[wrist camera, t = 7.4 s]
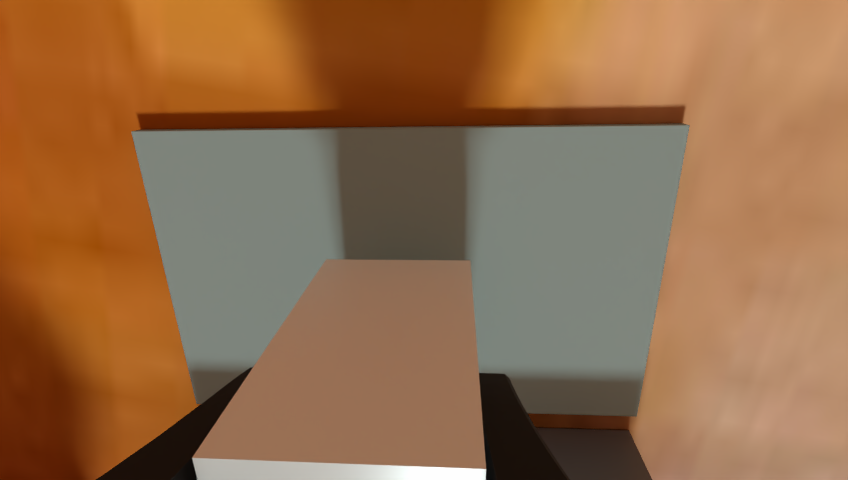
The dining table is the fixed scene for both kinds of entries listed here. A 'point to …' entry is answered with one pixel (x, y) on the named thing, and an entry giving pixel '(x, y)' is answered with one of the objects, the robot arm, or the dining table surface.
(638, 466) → the plate
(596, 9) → the dining table surface
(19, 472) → the dining table surface
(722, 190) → the dining table surface
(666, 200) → the mat
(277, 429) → the plug
